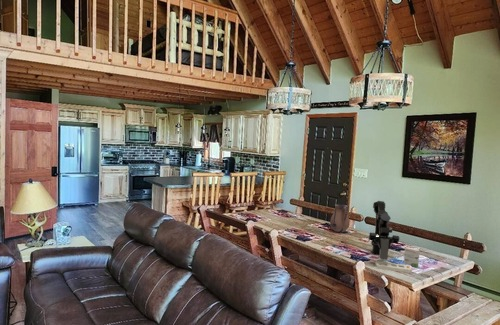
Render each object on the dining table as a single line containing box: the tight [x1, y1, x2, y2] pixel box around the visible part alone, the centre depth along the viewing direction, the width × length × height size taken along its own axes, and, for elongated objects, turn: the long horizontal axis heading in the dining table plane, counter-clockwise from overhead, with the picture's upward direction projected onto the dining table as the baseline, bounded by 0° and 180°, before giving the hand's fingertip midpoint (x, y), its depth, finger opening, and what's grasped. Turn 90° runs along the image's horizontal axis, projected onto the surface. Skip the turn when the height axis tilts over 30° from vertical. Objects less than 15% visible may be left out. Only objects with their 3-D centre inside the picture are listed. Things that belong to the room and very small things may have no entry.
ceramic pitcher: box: [329, 203, 350, 233], centre depth 316 cm, size 18×21×25 cm
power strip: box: [374, 260, 413, 274], centre depth 222 cm, size 21×9×4 cm, turn 76°
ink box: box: [403, 246, 420, 269], centre depth 233 cm, size 9×5×12 cm, turn 47°
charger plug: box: [378, 238, 389, 261], centre depth 223 cm, size 4×4×13 cm
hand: (384, 249), depth 222 cm, fingers closed on charger plug, 4 cm apart
